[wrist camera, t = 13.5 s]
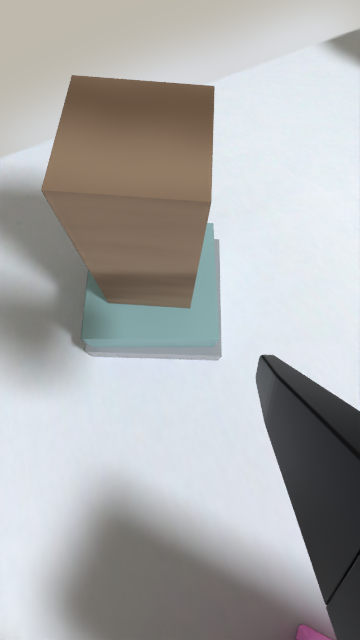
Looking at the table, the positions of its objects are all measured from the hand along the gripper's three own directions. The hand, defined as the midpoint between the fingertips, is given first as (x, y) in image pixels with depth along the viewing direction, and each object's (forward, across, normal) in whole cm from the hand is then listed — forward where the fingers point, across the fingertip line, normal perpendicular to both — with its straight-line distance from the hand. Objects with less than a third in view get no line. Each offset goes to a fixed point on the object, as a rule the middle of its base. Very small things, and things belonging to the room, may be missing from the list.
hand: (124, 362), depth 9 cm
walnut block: (+11, 0, 0) cm, 11 cm away
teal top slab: (+13, 0, +2) cm, 13 cm away
